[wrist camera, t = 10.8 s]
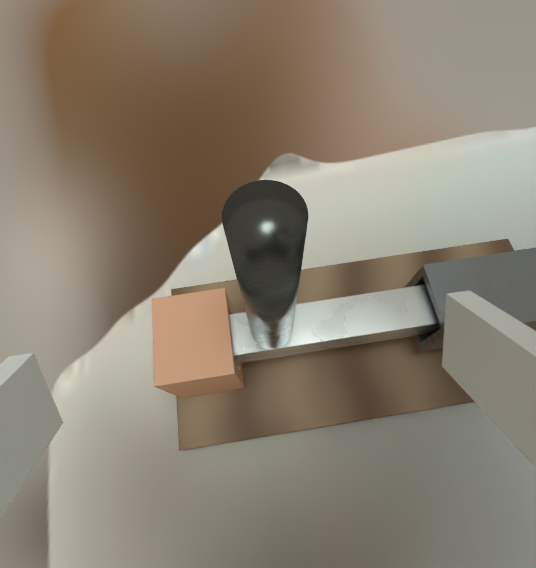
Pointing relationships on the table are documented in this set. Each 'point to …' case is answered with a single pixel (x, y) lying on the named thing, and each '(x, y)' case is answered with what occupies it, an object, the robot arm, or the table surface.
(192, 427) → the base board
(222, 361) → the socket block
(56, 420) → the robot arm
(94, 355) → the table surface
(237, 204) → the sliding bolt
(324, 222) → the table surface
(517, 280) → the outer sleeve
